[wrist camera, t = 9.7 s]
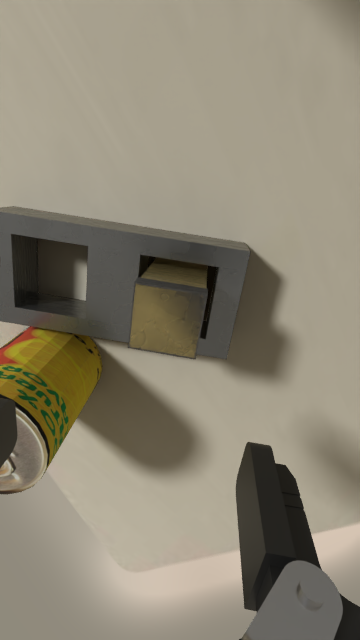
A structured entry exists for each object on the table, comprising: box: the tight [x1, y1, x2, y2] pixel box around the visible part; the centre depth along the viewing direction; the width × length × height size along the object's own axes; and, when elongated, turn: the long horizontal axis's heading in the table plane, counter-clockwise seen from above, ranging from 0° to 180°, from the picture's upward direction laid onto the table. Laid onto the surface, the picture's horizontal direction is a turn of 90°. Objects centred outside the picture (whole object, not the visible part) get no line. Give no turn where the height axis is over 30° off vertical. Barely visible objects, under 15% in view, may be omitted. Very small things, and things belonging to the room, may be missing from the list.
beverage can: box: [0, 326, 102, 494], centre depth 28 cm, size 9×9×12 cm
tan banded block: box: [128, 257, 208, 359], centre depth 25 cm, size 5×5×9 cm
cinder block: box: [0, 206, 250, 359], centre depth 28 cm, size 9×20×4 cm, turn 81°
